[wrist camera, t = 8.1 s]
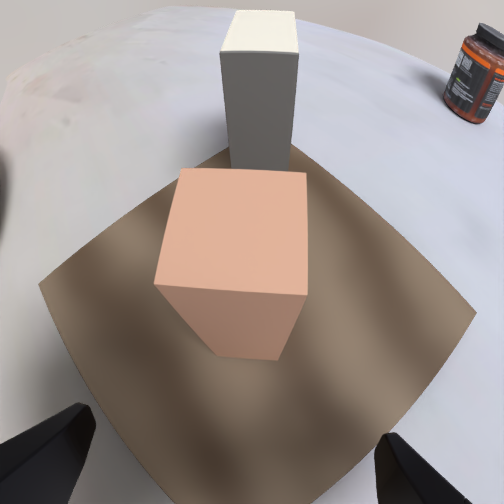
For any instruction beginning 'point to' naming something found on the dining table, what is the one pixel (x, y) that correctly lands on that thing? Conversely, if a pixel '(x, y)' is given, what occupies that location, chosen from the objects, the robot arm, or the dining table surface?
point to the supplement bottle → (477, 75)
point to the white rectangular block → (260, 88)
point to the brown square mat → (254, 370)
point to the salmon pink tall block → (237, 258)
